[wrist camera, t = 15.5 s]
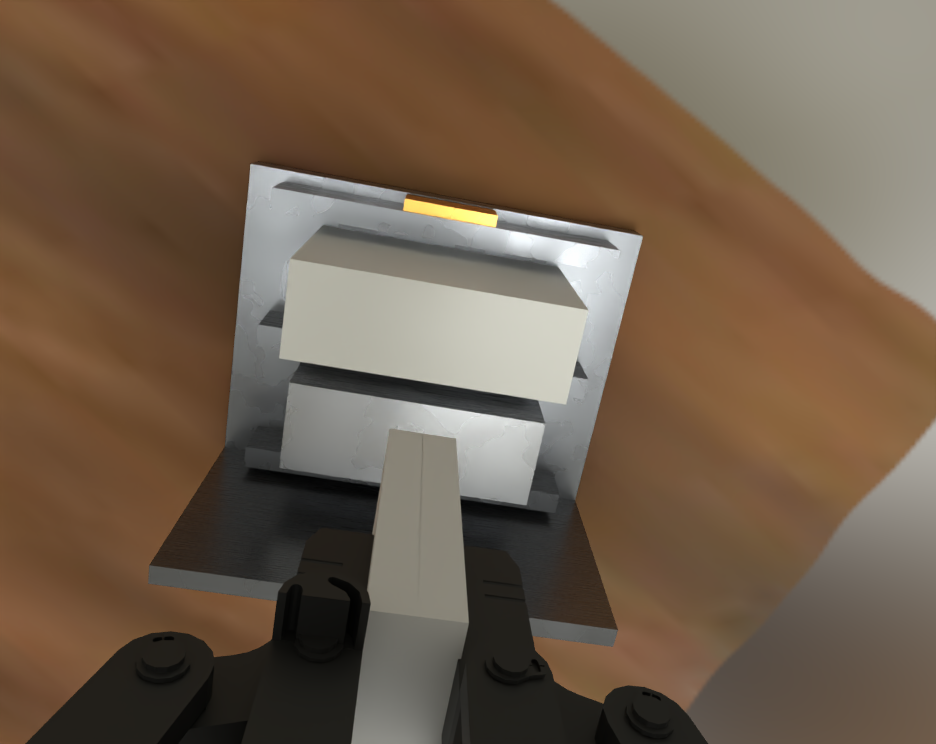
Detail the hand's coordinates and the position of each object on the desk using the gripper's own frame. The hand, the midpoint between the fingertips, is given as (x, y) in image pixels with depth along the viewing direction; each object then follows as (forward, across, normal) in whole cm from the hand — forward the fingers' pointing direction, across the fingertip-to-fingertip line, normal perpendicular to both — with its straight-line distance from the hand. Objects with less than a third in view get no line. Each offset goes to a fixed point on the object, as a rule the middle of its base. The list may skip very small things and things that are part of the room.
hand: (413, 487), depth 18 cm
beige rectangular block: (+20, 0, 0) cm, 20 cm away
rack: (+21, +1, -3) cm, 22 cm away
